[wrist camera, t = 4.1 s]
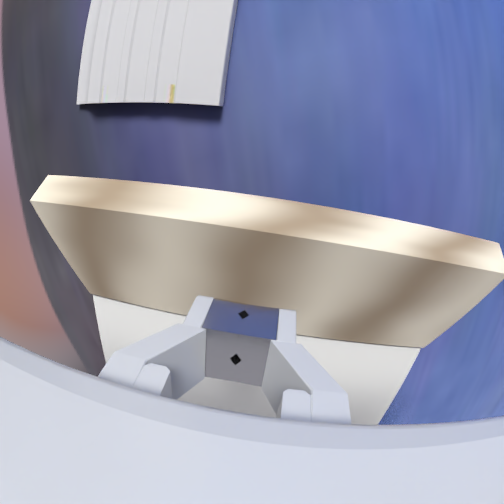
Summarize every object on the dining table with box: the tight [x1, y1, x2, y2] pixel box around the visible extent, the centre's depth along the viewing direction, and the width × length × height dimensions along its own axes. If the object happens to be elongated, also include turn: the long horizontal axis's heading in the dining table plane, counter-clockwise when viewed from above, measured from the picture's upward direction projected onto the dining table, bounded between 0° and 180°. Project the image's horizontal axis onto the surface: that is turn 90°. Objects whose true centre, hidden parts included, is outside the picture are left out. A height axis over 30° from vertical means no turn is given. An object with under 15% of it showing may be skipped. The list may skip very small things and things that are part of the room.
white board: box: [93, 294, 421, 425], centre depth 20 cm, size 20×10×2 cm, turn 83°
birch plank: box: [30, 175, 504, 348], centre depth 14 cm, size 20×8×2 cm
